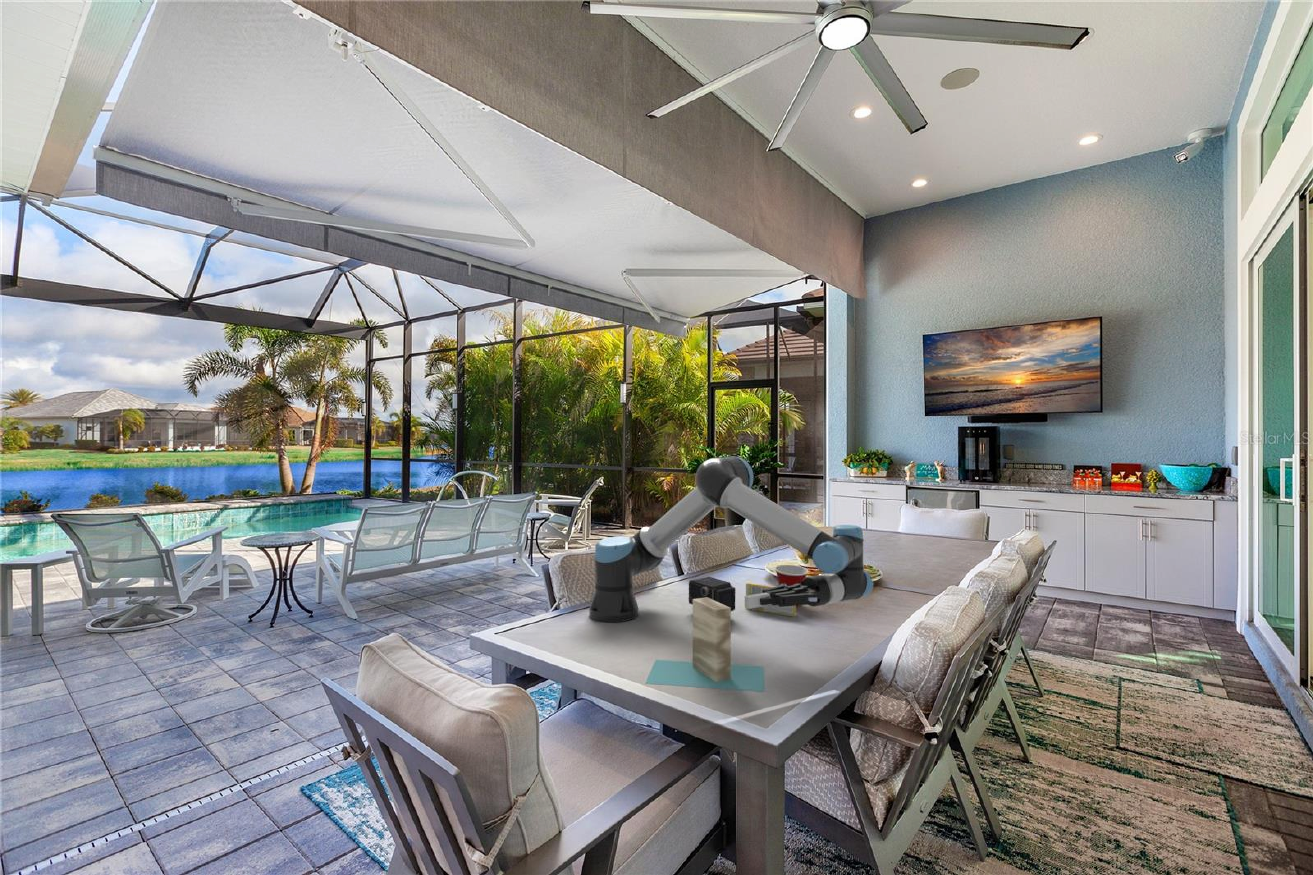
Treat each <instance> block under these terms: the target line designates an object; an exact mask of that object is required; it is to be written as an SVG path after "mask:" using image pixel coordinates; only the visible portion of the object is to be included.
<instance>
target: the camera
mask: <svg viewBox="0 0 1313 875" xmlns="http://www.w3.org/2000/svg"><path fill="white" fill-rule="evenodd" d="M704 597H708V598H710V599H712V600H714V601H717V602H719V603H721V604H723V605H725V606H728V607H730V608H731V612H734V611H735V610H736V587H735V586H732V584H731V583H730V582H729V581H726V580H722V579H718V578H715V577H712V576H706V577H701V578H698V579H696V578H695V579H691V580H689V582H688V604H690V605H692V606H693V599H698V598H704Z"/></svg>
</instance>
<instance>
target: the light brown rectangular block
mask: <svg viewBox="0 0 1313 875" xmlns="http://www.w3.org/2000/svg"><path fill="white" fill-rule="evenodd" d="M731 612H732V611H731V608H730V607H728V606H725V605H723V604H721V603H719V602H717V601H714V600H712V599H710V598H708V597H704V598H698V599H693V605H692V662H693V667H694V668H696V669H697V670H699V671H700V672H702V673H703V674H705V675H706V676H708V677H709V678H711V679H712V680H714V681H715V682H718V681H722V680H726V679H730V678H731V664H732V663H731V662H732V658H731V657H732V656H731V652H732V650H731V648H732V647H731V644H732V643H731V642H732V641H731V638H732V635H731V633H732V632H731V629H732V628H731V624H732V623H731V621H732V619H731V617H732V616H731Z"/></svg>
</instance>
